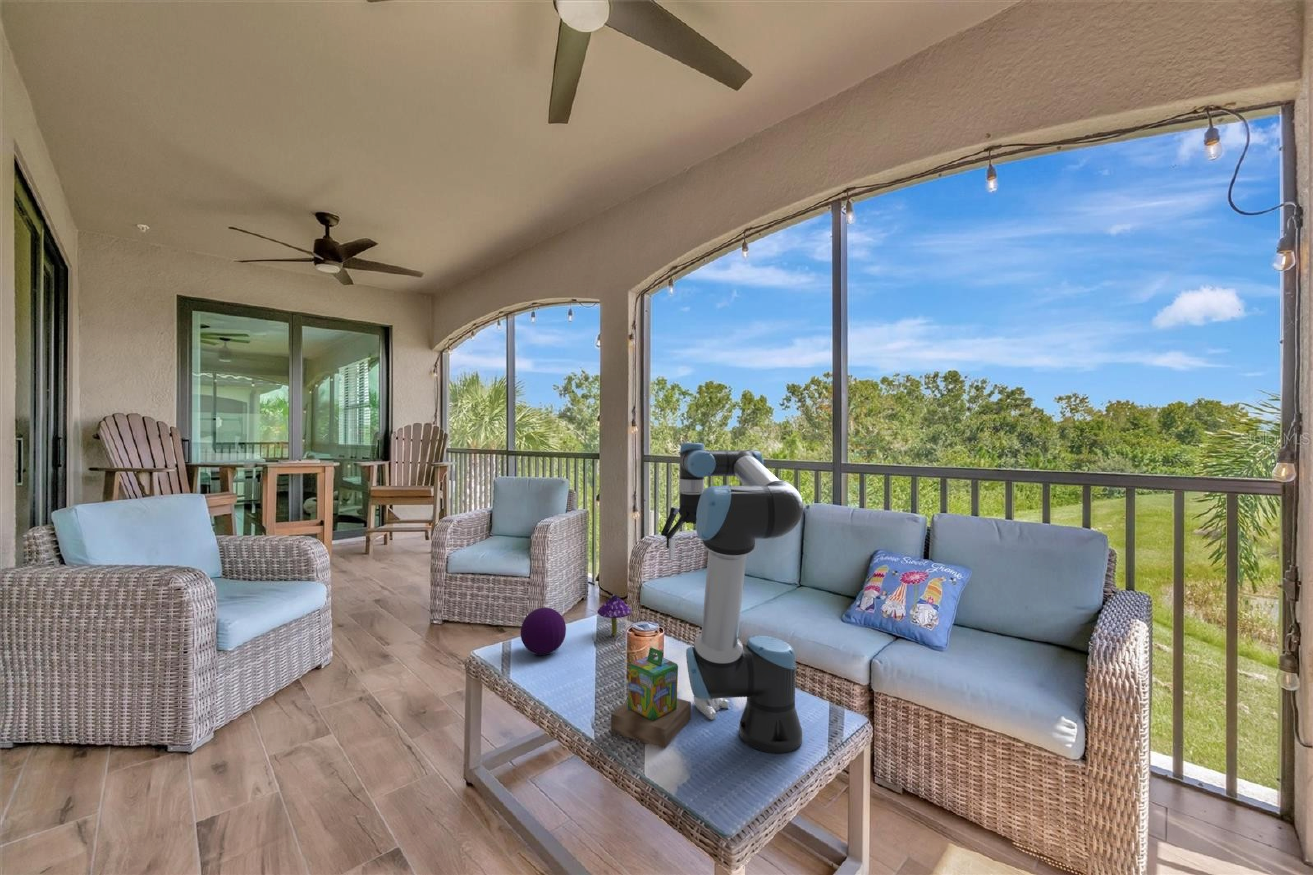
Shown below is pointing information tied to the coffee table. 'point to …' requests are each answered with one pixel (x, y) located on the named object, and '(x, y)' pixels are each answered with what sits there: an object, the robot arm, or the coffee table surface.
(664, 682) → the chalk box
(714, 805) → the coffee table surface
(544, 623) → the toy ball
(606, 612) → the decorative mushroom
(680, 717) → the walnut block
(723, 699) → the white creature statuette
